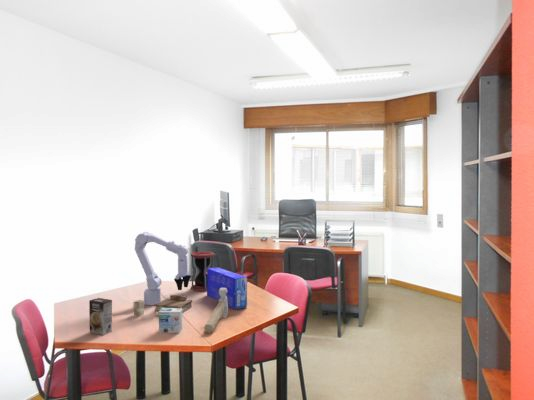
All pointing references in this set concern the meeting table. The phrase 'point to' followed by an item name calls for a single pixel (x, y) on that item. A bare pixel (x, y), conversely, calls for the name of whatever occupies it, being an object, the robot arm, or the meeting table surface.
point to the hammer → (218, 311)
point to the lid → (174, 302)
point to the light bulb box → (170, 320)
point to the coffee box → (100, 316)
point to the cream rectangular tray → (168, 307)
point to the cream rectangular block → (138, 307)
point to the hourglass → (201, 269)
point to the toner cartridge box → (227, 286)
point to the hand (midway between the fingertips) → (182, 288)
